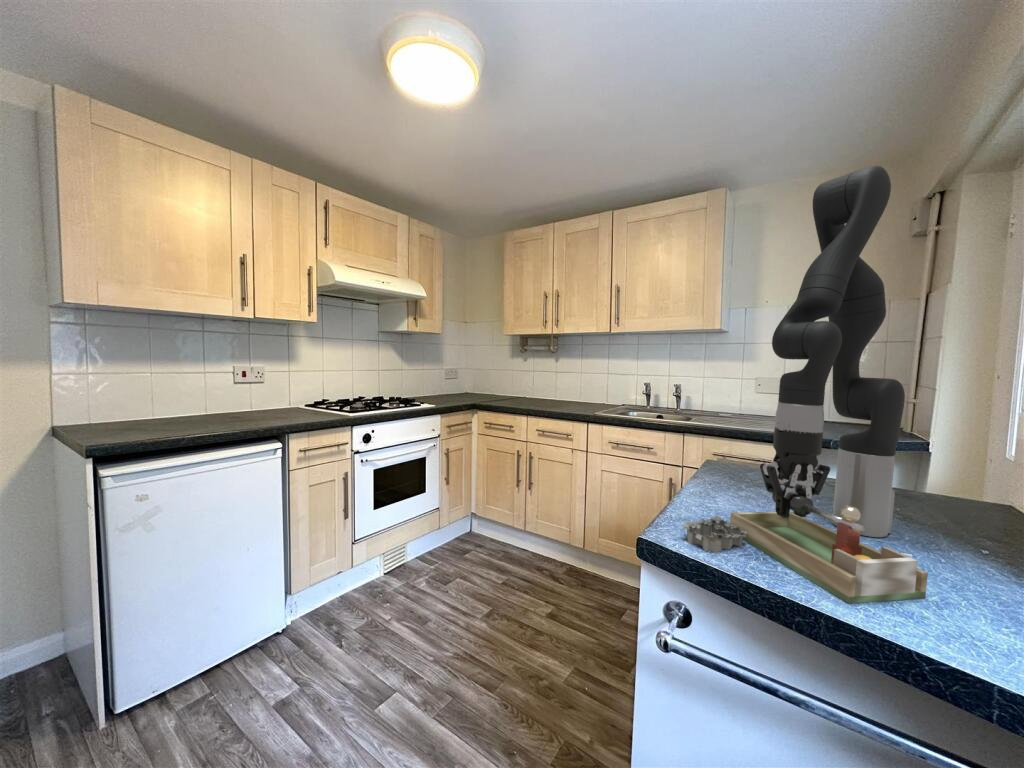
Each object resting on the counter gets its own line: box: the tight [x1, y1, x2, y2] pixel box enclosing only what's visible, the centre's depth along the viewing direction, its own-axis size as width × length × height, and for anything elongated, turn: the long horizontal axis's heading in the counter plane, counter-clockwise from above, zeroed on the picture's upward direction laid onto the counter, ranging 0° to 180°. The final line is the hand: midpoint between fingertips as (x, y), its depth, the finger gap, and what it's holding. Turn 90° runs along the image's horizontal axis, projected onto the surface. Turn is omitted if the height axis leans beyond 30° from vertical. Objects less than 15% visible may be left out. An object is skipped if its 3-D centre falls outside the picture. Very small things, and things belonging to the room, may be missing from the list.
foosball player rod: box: [771, 488, 865, 564], centre depth 72 cm, size 4×16×11 cm, turn 9°
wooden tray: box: [729, 511, 929, 604], centre depth 72 cm, size 14×25×6 cm, turn 9°
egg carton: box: [683, 515, 747, 554], centre depth 78 cm, size 11×8×4 cm
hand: (791, 515), depth 77 cm, fingers closed on foosball player rod, 3 cm apart
